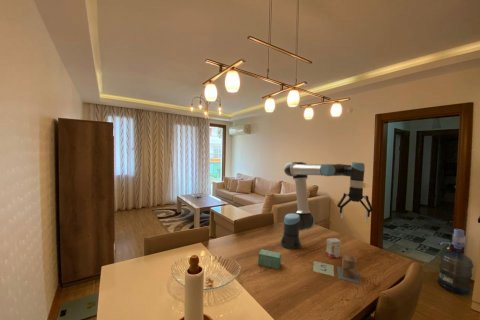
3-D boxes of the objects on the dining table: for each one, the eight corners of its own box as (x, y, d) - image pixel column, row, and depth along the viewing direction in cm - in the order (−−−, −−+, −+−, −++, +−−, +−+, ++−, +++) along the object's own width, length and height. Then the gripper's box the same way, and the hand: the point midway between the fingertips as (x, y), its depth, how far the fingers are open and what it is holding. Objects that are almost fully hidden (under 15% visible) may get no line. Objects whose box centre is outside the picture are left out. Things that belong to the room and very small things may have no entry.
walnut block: (342, 276, 125) (343, 259, 124) (341, 270, 131) (342, 254, 131) (355, 279, 122) (357, 262, 122) (354, 272, 129) (355, 256, 128)
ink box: (330, 258, 146) (331, 241, 145) (325, 255, 150) (326, 238, 150) (340, 257, 148) (341, 240, 148) (335, 253, 153) (336, 237, 152)
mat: (338, 278, 123) (338, 278, 123) (336, 266, 136) (336, 266, 136) (361, 284, 118) (361, 283, 118) (358, 271, 131) (358, 271, 131)
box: (279, 269, 129) (280, 257, 129) (257, 265, 133) (258, 253, 133) (280, 263, 136) (281, 252, 136) (260, 259, 140) (260, 248, 140)
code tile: (312, 271, 129) (312, 270, 129) (313, 261, 141) (313, 260, 141) (334, 276, 125) (334, 276, 125) (333, 265, 137) (333, 265, 137)
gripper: (334, 185, 135) (332, 218, 136) (380, 190, 125) (377, 225, 127) (334, 184, 142) (332, 215, 143) (377, 188, 132) (375, 221, 133)
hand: (353, 220), depth 135 cm, fingers open, 13 cm apart
